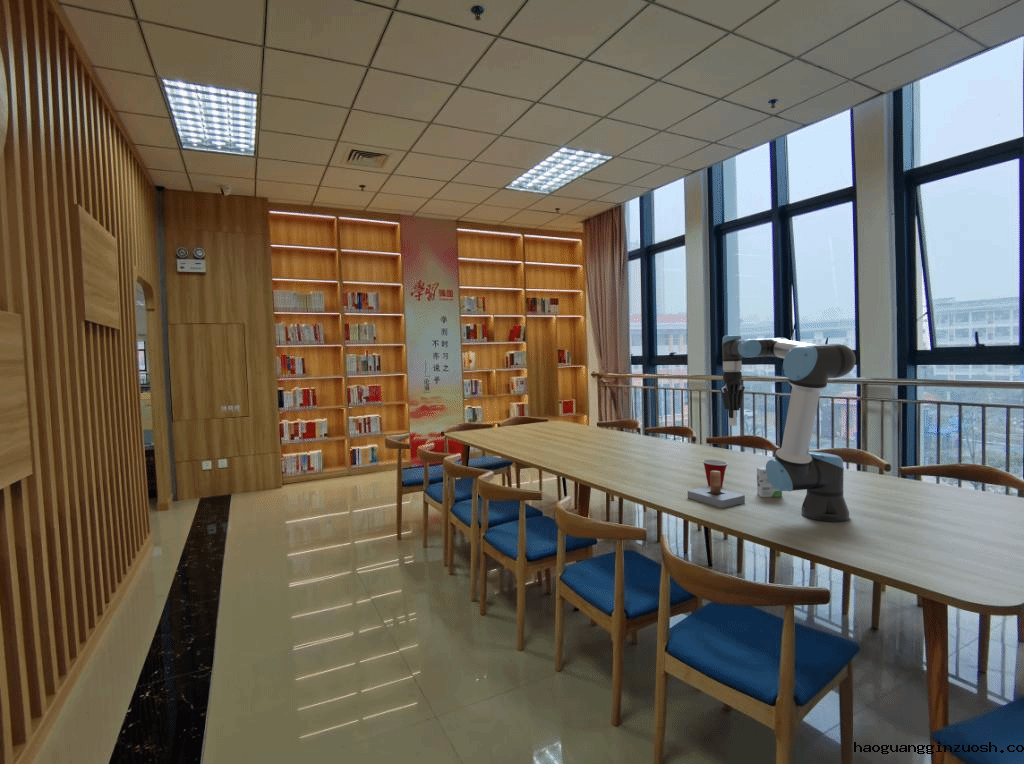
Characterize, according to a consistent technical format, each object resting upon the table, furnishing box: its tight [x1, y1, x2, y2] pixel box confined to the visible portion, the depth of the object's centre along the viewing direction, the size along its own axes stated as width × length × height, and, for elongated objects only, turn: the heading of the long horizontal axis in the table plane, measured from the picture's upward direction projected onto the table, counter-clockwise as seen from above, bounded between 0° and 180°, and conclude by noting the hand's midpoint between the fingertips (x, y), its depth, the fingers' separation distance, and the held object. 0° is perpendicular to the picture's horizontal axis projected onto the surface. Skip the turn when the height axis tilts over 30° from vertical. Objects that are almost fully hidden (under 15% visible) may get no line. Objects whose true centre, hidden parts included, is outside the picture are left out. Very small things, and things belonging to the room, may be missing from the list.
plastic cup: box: [702, 459, 729, 489], centre depth 237 cm, size 11×11×12 cm
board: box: [687, 485, 746, 509], centre depth 217 cm, size 18×13×3 cm
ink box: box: [756, 466, 783, 498], centre depth 220 cm, size 9×5×12 cm, turn 83°
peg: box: [710, 471, 722, 496], centre depth 217 cm, size 4×4×12 cm
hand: (733, 425), depth 226 cm, fingers closed
